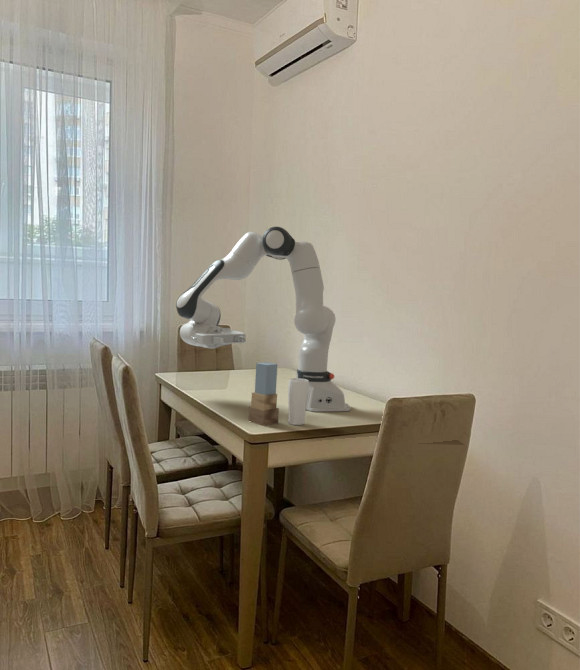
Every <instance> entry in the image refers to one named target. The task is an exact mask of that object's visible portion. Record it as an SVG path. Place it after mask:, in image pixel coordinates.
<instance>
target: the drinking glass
mask: <svg viewBox="0 0 580 670" xmlns="http://www.w3.org/2000/svg"><path fill="white" fill-rule="evenodd" d="M287 387H288V389H287V392H288V399H287V400H288V402H287V403H288V423H289V424H290V425H293V426H302V425H304V424H305V418H306V417H305V416H306V404H307V398H308V389H309V380H307V379H301V378H296V377H292V378H290V379H288V386H287Z"/></svg>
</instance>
